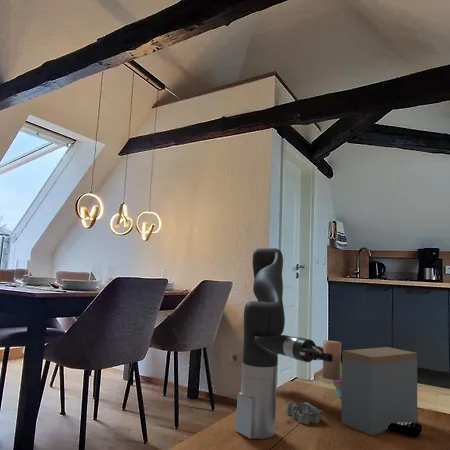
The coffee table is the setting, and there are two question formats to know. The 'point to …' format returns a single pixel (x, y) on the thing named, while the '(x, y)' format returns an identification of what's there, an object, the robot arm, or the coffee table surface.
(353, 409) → the counter
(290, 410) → the egg carton
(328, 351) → the pinkish-brown cylinder
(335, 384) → the cupcake
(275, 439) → the coffee table surface
